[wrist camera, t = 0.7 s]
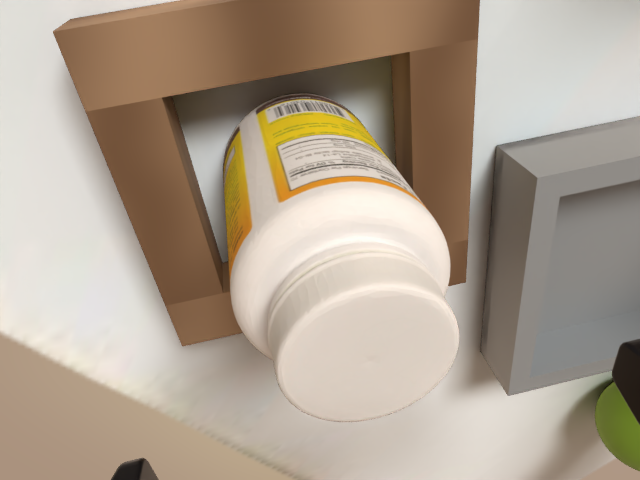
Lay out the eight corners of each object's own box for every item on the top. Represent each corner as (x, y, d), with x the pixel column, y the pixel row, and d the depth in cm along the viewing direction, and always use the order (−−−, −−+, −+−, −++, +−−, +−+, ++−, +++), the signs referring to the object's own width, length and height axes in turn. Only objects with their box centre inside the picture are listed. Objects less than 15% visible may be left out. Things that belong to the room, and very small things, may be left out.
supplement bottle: (282, 248, 21) (332, 476, 12) (190, 151, 18) (170, 364, 9) (394, 171, 20) (533, 362, 11) (317, 53, 17) (426, 193, 8)
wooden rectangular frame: (453, -47, 16) (481, -42, 14) (447, 255, 22) (465, 282, 21) (70, 19, 15) (52, 31, 13) (184, 313, 21) (182, 346, 20)
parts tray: (766, 90, 21) (841, 113, 18) (684, 302, 27) (731, 340, 25) (496, 145, 20) (537, 177, 17) (480, 351, 26) (508, 396, 24)
